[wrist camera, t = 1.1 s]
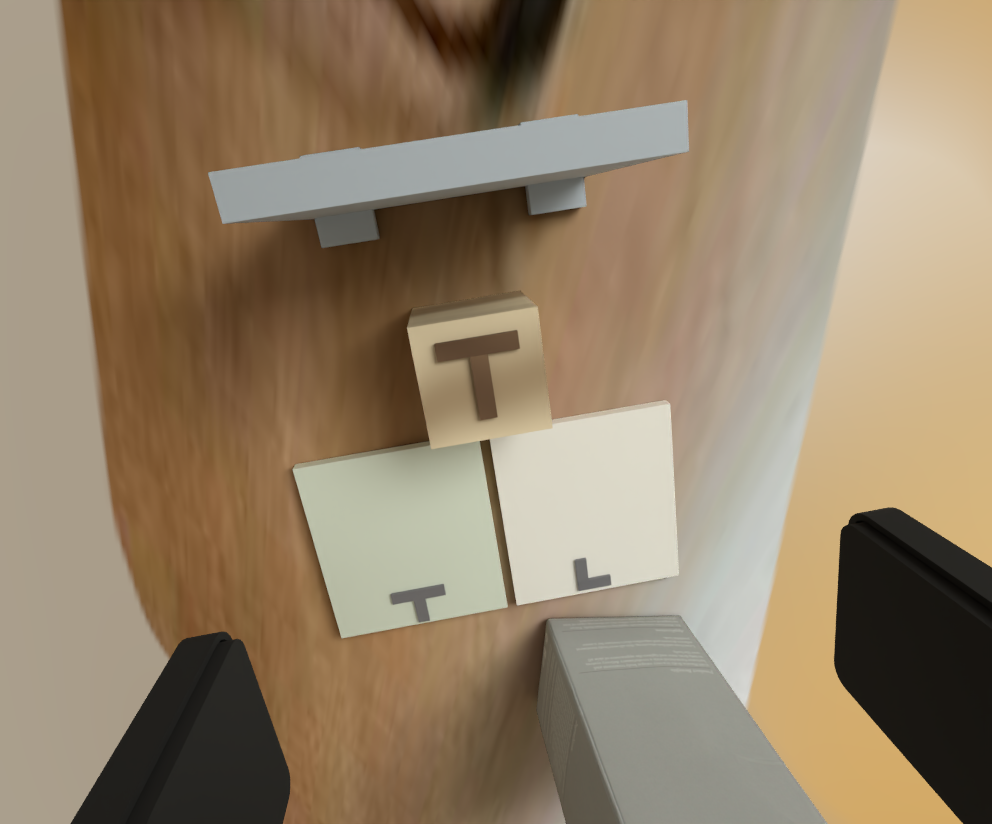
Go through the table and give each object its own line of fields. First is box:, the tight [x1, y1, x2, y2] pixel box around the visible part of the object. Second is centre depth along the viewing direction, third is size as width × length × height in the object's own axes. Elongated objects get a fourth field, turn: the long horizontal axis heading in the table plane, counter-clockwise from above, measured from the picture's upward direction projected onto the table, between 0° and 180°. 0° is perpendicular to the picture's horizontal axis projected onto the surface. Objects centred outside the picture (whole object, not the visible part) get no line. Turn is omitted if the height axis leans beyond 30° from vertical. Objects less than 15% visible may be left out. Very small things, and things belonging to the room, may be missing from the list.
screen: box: [208, 100, 689, 248], centre depth 20 cm, size 4×12×11 cm, turn 98°
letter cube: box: [407, 291, 553, 449], centre depth 25 cm, size 5×5×5 cm
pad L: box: [490, 400, 679, 605], centre depth 30 cm, size 10×9×1 cm
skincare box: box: [536, 616, 827, 824], centre depth 27 cm, size 8×7×16 cm
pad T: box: [293, 441, 508, 638], centre depth 30 cm, size 10×9×1 cm
